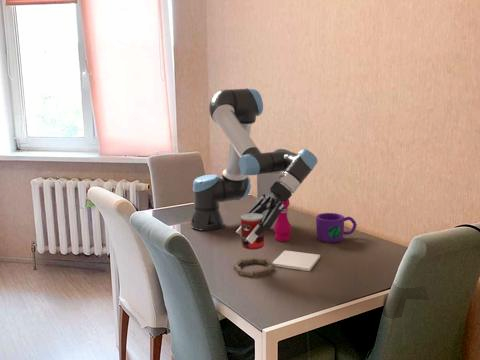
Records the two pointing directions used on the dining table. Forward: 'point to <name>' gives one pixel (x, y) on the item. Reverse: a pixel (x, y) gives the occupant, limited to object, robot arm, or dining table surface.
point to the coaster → (296, 260)
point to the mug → (332, 227)
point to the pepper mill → (283, 225)
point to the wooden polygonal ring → (253, 273)
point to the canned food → (247, 227)
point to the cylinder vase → (266, 186)
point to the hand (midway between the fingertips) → (243, 237)
